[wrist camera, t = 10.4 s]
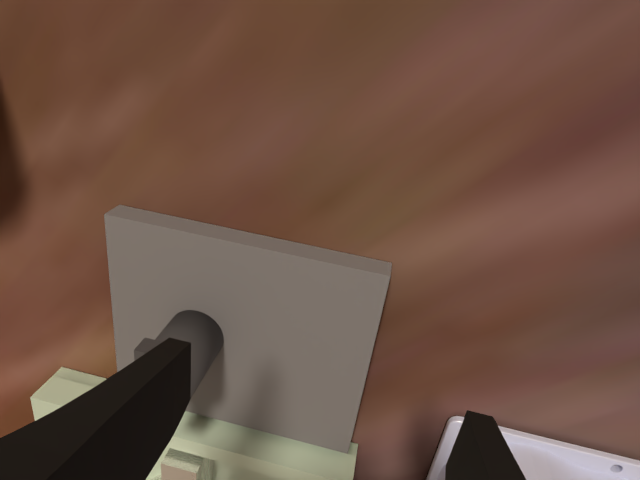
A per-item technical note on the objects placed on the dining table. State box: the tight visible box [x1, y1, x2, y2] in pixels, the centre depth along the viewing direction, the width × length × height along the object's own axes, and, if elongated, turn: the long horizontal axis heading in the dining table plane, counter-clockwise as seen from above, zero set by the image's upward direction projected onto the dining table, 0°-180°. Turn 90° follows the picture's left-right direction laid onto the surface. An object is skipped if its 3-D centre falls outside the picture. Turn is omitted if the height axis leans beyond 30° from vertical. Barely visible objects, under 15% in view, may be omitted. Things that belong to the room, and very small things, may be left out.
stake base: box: [104, 205, 392, 454], centre depth 21 cm, size 13×11×6 cm
